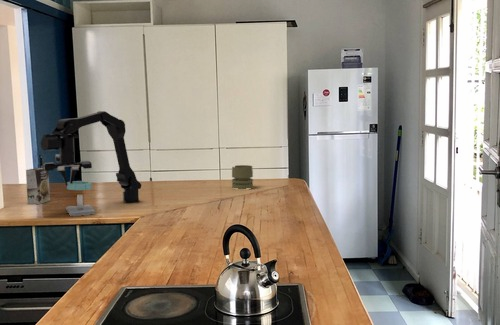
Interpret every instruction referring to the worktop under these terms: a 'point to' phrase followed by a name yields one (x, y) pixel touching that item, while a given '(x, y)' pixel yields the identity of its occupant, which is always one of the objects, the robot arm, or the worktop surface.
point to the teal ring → (79, 185)
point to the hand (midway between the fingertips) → (68, 185)
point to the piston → (242, 176)
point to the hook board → (79, 212)
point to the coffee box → (37, 186)
